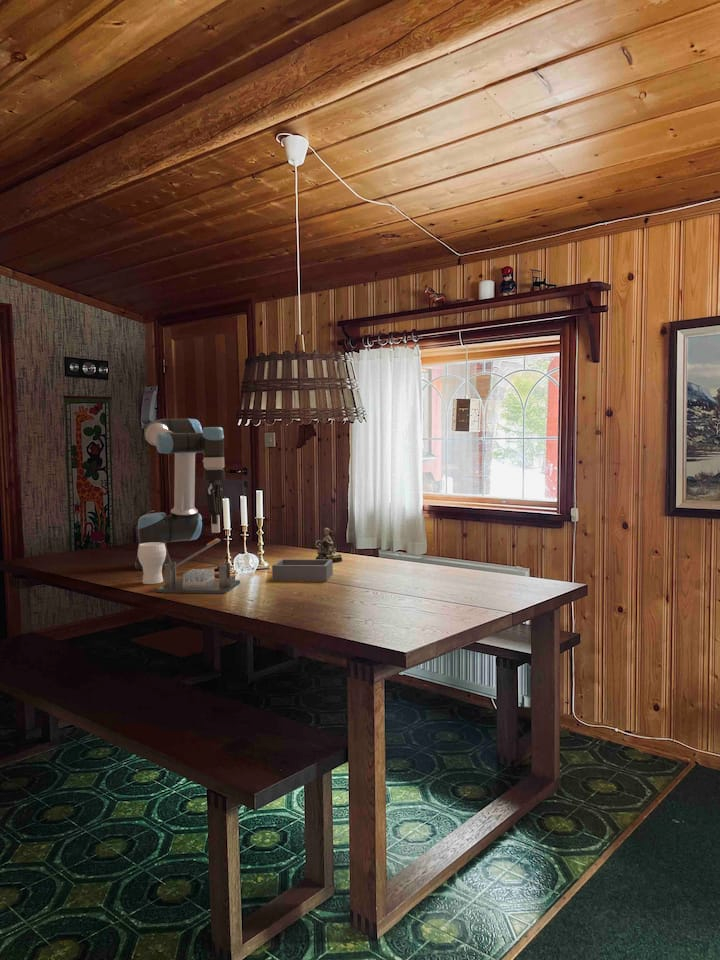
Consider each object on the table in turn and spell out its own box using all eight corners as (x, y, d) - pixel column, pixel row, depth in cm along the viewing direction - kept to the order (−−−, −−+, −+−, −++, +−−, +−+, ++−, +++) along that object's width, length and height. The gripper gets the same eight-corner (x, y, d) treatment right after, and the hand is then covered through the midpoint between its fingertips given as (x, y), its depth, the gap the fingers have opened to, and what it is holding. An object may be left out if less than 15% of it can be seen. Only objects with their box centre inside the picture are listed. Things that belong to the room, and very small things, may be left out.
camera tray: (281, 574, 298) (280, 559, 297) (332, 575, 295) (332, 559, 295) (272, 582, 284) (272, 565, 283) (326, 582, 281) (326, 566, 280)
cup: (159, 585, 277) (157, 546, 277) (133, 584, 280) (132, 545, 279) (171, 579, 288) (170, 542, 287) (146, 579, 290) (145, 541, 289)
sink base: (156, 592, 265) (155, 567, 264) (175, 582, 283) (174, 559, 282) (225, 593, 261) (224, 568, 261) (240, 583, 279) (239, 559, 279)
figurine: (311, 562, 323) (310, 529, 322) (322, 558, 333) (321, 526, 332) (335, 564, 318) (335, 530, 317) (345, 560, 328) (345, 527, 327)
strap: (168, 572, 272) (165, 568, 272) (171, 571, 275) (168, 567, 275) (218, 542, 268) (216, 538, 268) (221, 541, 271) (218, 537, 271)
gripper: (210, 468, 275) (211, 530, 277) (198, 469, 262) (200, 534, 264) (229, 467, 274) (231, 530, 276) (218, 469, 261) (220, 534, 263)
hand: (215, 532), depth 270 cm, fingers closed
